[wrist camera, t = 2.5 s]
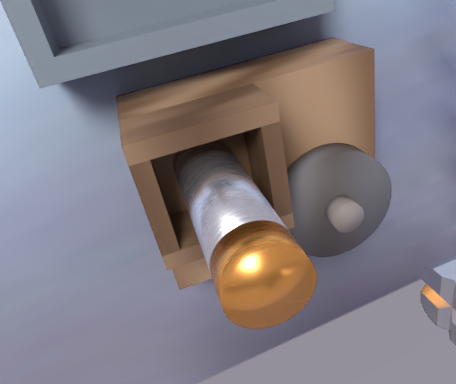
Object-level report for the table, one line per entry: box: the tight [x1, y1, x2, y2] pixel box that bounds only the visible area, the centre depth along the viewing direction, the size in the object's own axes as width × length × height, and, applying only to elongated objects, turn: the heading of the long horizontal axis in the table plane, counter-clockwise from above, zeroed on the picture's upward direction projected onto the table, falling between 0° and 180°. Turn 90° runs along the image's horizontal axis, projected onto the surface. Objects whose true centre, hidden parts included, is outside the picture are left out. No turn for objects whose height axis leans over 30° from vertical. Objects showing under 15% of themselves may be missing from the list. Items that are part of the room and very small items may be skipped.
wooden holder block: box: [116, 38, 391, 290], centre depth 21 cm, size 12×10×7 cm
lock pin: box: [173, 139, 317, 329], centre depth 15 cm, size 3×3×9 cm
